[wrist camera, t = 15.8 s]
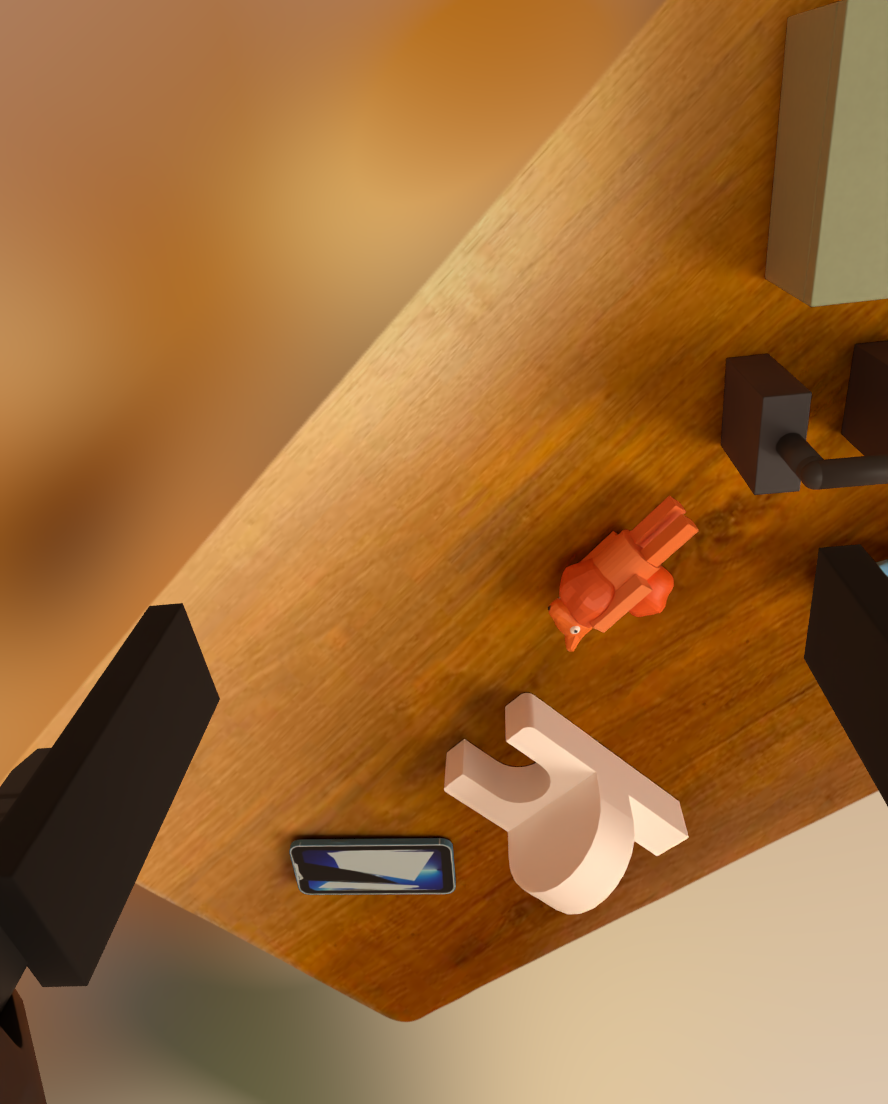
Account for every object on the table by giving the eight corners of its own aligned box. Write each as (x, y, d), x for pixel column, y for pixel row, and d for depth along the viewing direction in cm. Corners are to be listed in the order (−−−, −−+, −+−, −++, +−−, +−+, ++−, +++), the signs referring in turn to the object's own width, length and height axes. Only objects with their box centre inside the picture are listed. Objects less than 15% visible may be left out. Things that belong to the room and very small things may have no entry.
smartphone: (456, 894, 70) (300, 895, 71) (456, 885, 71) (302, 886, 72) (452, 843, 66) (287, 845, 67) (452, 834, 67) (289, 836, 68)
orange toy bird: (676, 522, 43) (538, 646, 48) (746, 566, 47) (611, 676, 52) (641, 471, 47) (517, 592, 52) (709, 516, 51) (587, 624, 56)
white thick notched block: (678, 800, 63) (711, 922, 54) (594, 853, 67) (610, 975, 58) (526, 689, 58) (533, 804, 48) (444, 754, 62) (436, 871, 52)
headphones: (726, 357, 44) (793, 429, 34) (898, 339, 43) (1018, 407, 33) (720, 445, 47) (780, 535, 37) (881, 430, 45) (988, 518, 36)
